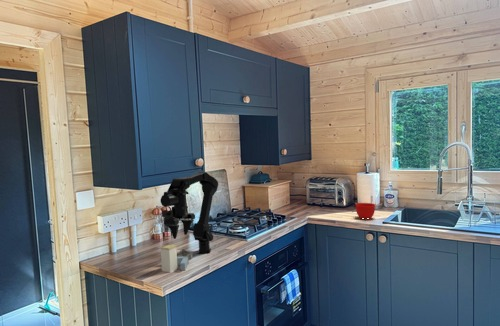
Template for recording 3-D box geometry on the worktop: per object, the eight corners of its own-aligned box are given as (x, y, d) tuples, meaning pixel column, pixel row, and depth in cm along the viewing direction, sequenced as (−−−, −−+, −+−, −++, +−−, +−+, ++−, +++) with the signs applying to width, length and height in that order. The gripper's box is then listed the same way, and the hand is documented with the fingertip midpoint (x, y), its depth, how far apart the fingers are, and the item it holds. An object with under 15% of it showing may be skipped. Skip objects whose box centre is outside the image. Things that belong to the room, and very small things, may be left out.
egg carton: (184, 256, 183) (184, 248, 183) (195, 258, 179) (194, 250, 179) (168, 262, 175) (168, 254, 175) (179, 265, 170) (178, 256, 170)
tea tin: (168, 267, 168) (167, 244, 167) (177, 268, 165) (176, 245, 164) (161, 270, 163) (160, 247, 162) (170, 272, 161) (169, 248, 160)
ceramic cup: (371, 215, 261) (371, 201, 260) (377, 220, 244) (377, 206, 243) (353, 215, 262) (353, 202, 261) (357, 220, 245) (357, 206, 245)
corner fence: (162, 264, 171) (162, 257, 171) (188, 263, 171) (188, 256, 171) (157, 271, 162) (157, 264, 162) (185, 270, 162) (184, 263, 162)
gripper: (176, 201, 183) (177, 231, 183) (153, 206, 166) (154, 239, 166) (195, 202, 179) (195, 233, 179) (174, 207, 162) (174, 241, 162)
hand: (180, 236), depth 172 cm, fingers open, 9 cm apart
